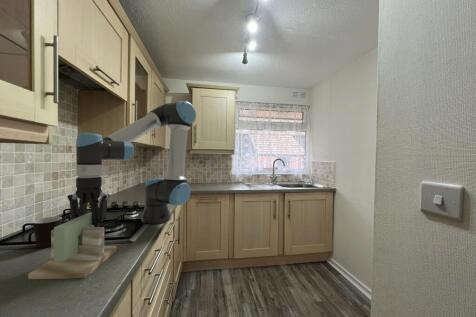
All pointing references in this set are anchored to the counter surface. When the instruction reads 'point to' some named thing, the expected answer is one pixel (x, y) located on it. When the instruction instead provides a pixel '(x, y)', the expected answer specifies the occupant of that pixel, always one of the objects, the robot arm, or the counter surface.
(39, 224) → the coffee mug
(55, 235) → the sage slotted plate
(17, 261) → the counter surface
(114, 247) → the slotted base
